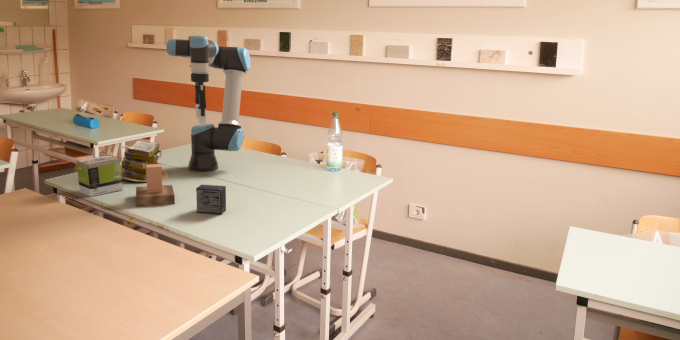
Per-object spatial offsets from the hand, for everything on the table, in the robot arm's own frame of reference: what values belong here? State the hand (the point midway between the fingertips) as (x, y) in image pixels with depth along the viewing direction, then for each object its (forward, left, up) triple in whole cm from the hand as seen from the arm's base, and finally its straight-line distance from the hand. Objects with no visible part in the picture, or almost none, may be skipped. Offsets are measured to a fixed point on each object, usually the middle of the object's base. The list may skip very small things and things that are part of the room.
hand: (200, 120), depth 240 cm
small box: (0, +32, -32) cm, 45 cm away
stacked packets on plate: (+26, -28, -32) cm, 50 cm away
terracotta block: (+21, +12, -28) cm, 37 cm away
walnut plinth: (+21, +12, -32) cm, 40 cm away
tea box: (+43, -6, -32) cm, 54 cm away
